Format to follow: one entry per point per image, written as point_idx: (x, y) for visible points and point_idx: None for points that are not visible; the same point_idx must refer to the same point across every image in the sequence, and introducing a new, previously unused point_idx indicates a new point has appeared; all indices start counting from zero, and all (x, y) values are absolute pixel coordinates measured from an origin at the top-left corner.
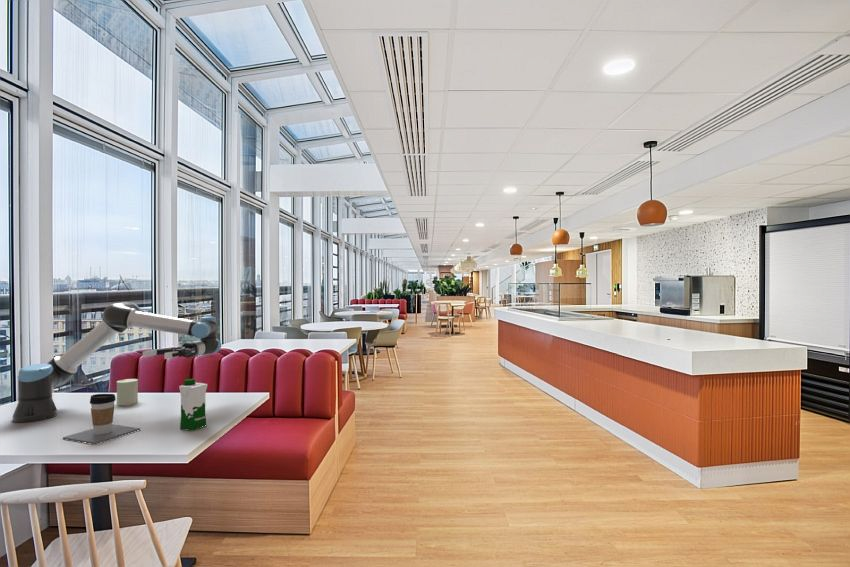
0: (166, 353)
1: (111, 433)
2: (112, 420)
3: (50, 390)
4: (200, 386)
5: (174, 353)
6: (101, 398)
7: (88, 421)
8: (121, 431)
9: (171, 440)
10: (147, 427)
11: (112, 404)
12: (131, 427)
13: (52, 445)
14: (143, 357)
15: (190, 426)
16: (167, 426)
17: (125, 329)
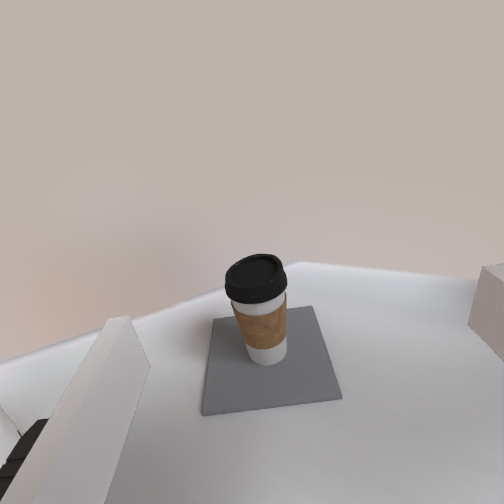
0: (107, 330)
1: (237, 355)
2: (246, 341)
3: None
4: None
5: (35, 440)
6: (233, 265)
7: (467, 392)
8: (228, 373)
9: (54, 404)
10: (205, 445)
11: (232, 302)
12: (235, 404)
13: (287, 293)
14: (473, 323)
15: None
16: (140, 489)
17: None
